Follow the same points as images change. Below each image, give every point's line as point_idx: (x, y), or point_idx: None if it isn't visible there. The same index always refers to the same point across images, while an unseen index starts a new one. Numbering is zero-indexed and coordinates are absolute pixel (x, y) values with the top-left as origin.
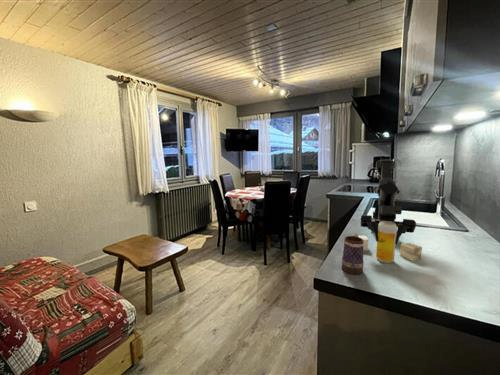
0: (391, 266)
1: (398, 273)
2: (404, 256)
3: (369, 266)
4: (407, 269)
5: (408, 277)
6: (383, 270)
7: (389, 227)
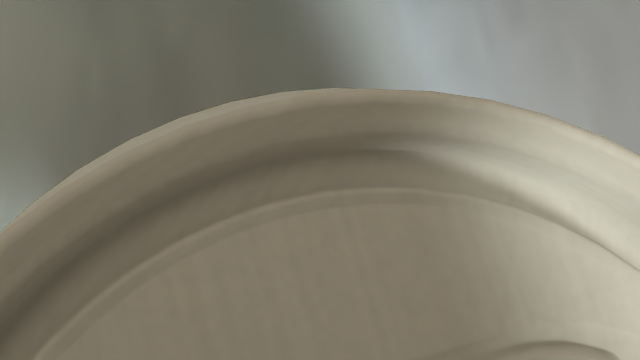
0: None
1: (100, 46)
2: None
3: (388, 45)
4: (6, 221)
5: (3, 7)
6: (247, 30)
7: (214, 109)
